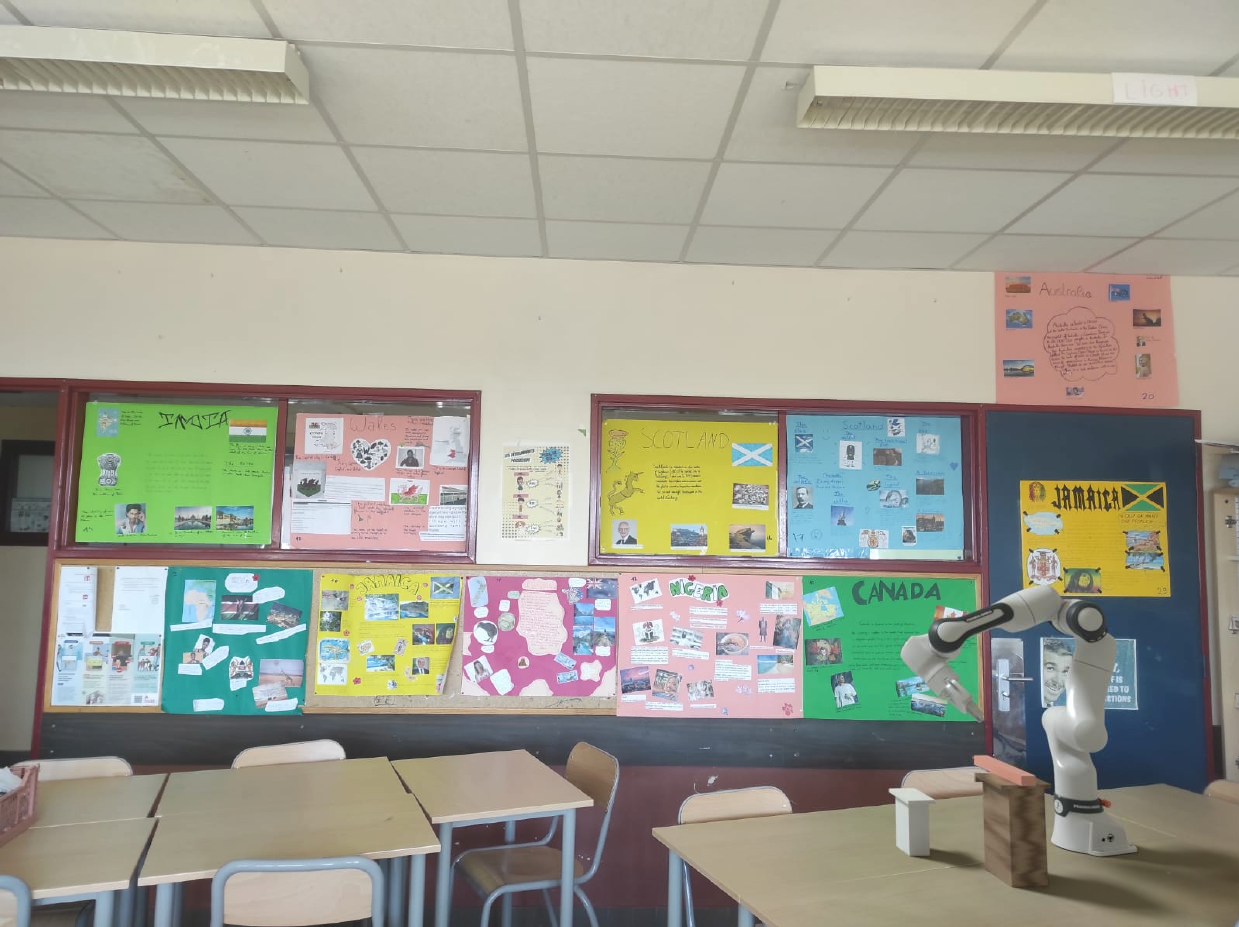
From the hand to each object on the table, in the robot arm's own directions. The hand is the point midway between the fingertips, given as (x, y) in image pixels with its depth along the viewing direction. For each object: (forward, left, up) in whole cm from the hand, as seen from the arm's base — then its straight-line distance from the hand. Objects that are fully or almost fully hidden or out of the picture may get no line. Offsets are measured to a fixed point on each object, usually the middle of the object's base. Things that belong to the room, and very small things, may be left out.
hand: (982, 718), depth 240 cm
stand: (+22, 0, -37) cm, 43 cm away
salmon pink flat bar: (+4, +17, -12) cm, 21 cm away
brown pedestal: (+4, +21, -37) cm, 42 cm away
